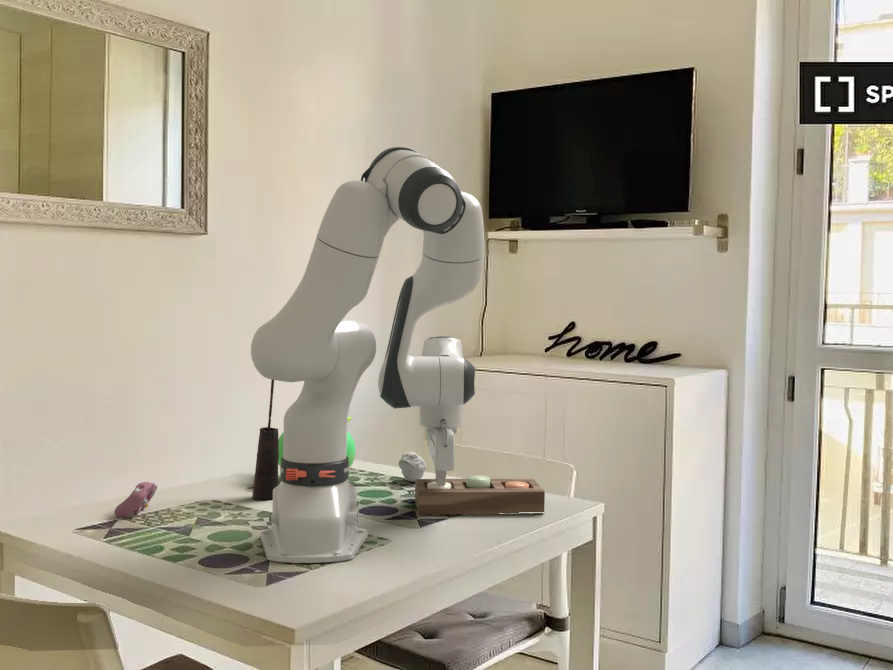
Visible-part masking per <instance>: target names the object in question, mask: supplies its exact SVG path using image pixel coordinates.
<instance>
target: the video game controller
mask: <svg viewBox="0 0 893 670" xmlns="http://www.w3.org/2000/svg"><path fill="white" fill-rule="evenodd" d="M157 490H158V485H156V484H155V483H154V482H149V481H143V482H139V483H138V484H137V485H136V486H135V488H134V490H132V491H131V493H130V495H129V496H128V497H127V498H126V499H124V501H122V502H120V503H119V504H118V505H117V506H116V507H115V509H114V513H113V514H114V516H115V517H117V518H124V517H128V516H130V515H131V514H132V513H133V514H135V515H139V513H140V512H141V511H144V510H145V509H146V508H148V506H149V503H150V501H151V500H152V499H153V497H154V496H155V494H156V493H157V492H156V491H157Z"/></svg>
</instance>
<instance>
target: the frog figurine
mask: <svg viewBox="0 0 893 670" xmlns="http://www.w3.org/2000/svg"><path fill="white" fill-rule="evenodd" d="M398 466H399V469H400V470H401V474H402V476H403V478H404V479H405V480H406V481H409V482H412V483H415V479H423V477H424V473H425V471H426V469H427V464H426V461H425V460H424V458H423V457H421V456H420V455H418V454H417V453H416V451H415V452H414V451H408V452H403V453H402V457H401V459H399V460H398Z"/></svg>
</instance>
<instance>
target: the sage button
mask: <svg viewBox="0 0 893 670" xmlns="http://www.w3.org/2000/svg"><path fill="white" fill-rule="evenodd" d="M466 479H467V485H466V489H474V488H490V479H491V477H490V476H487V475H477V474H476V475H468V476H467V477H466Z"/></svg>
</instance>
